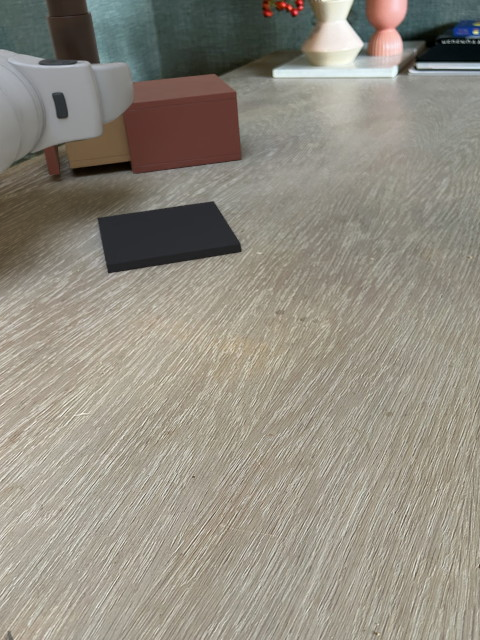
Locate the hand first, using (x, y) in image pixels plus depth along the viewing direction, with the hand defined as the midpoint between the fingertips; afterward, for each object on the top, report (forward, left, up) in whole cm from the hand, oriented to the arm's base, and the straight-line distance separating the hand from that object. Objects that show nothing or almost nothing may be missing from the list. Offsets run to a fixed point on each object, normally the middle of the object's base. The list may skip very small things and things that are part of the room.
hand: (53, 75), depth 72 cm
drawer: (+3, +8, -11) cm, 14 cm away
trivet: (+7, -20, -12) cm, 25 cm away
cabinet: (+13, +8, -12) cm, 20 cm away
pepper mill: (+3, +8, -10) cm, 13 cm away
